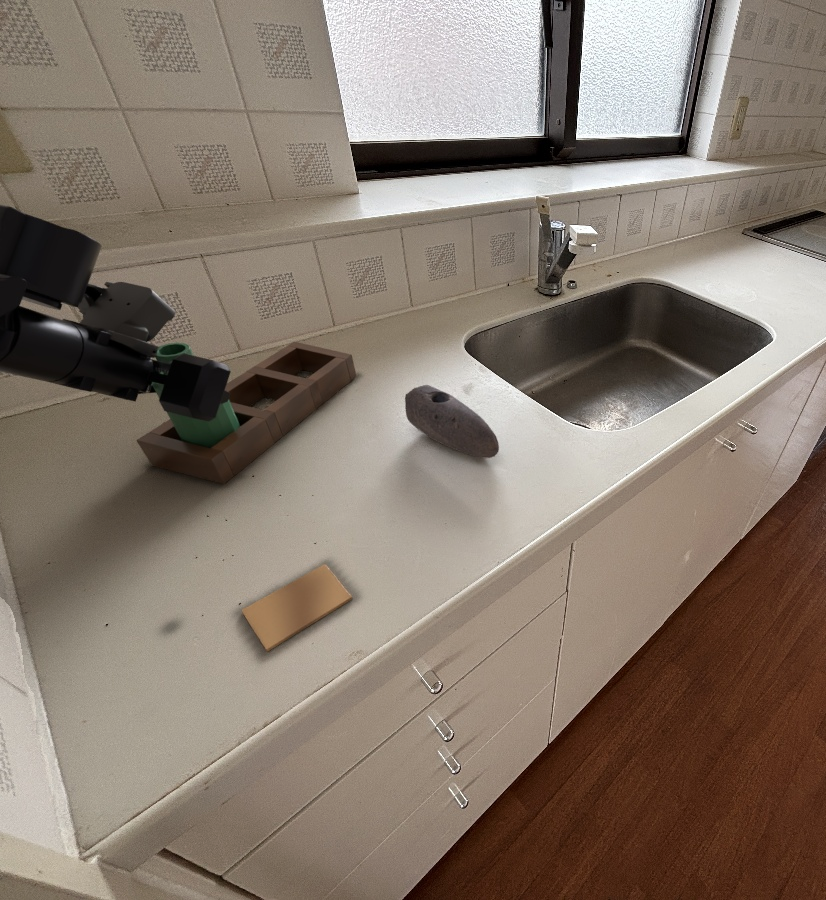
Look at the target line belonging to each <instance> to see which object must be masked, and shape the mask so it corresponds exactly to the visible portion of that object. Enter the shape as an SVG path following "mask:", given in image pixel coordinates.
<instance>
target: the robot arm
mask: <svg viewBox="0 0 826 900" xmlns="http://www.w3.org/2000/svg"><path fill="white" fill-rule="evenodd" d="M101 250H102V244H101V243H100V242H98V241H97V240H95V239H94V238H92V237H90V236H89V235H86V234H84V233H82V232H80V231H78V230H75V229H72V228H68V227H64V226H61V225H58V224H55V223H53V222H50V221H48V220H45V219H42V218H39V217H37V216H33V215H31V214H27V213H24V212H23V211H21V210H19V209H17V208H15V207H12V206H9V205H4V204H0V372H1V373H5V374H10V375H14V376H19V377H23V378H28V379H31V380H37V381H43V382H45V383H51V384H54V385H58V386H62V387H66V388H70V389H74V390H78V391H83V392H88V393H89V392H90V393H92V392H93V393H97V394H100V395H104V396H109V397H114V398H118V399H122V400H126V401H129V402H135V403H136V402H137V399H138V396H139V395H145V394H157V393H156V391H155V390H154V388H153V386H152V382H155V383H159V384H163V385H164V387H163V390H162V393H161V396H160V399H159V398H158V402H159V404H160V406H161V407H162V409H163V411H164V412H166V413H167V412H170V413H174V414H178V415H182V416H186V417H190V418H194V419H199V420H204V421H211V420H213V419H214V418H216V415H217V412H218V409H219V406H220V404H222V403H225V402H228V400H229V397H230V393H229V392H227V391H226V390H225V388H226V385H227V383H229V379H230V375H231V373H232V371H231V369H230V367H229V365H227V364H225V363H222V362H219V361H217V360H214V359H211V358H210V359H209V358H205V357H201V356H197V355H194V356H193V355H189V354H182V355H180V356H178V357H176V358H174V359H173V360H172V362H171V363H165V362H161V361H157V360H156V358H155V357H156V354H157V351H158V348H159V346H160V345H156V344H153V343H150V342H151V341H152V340H153V339H154V338H155V337H156V336H157V335H158V334H159V333H160V332H161V330H162V329H163V328H164V327H165V326H166V324H167V323H168V322H170V321H172V320H173V319H174V318H175V316H176V310H175V309H173V308H172V307H171V305H170V304H168V303H167V302H166V301H165V300H164V299H163V298H161V296H160V295H158V294H157V293H156V292H155V291H154V290H153V289H152V288H150V287H148V286H145V285H139V284H134V283H129V282H125V281H116V282H110V281H106V282H105V283H104V284H103V285H104V286H105V287H102V286H98V285H95V284H91V283H89V282H90V280H91V276H92V274H93V272H94V269H95V267H96V263H97V261H98V258H99V255H100V252H101ZM22 301H25V302H28V303H32V304H35V305H37V306H42V307H45V308H49V309H53V310H58V311H61V310H62V308H63V304H64V305H67V306H71V307H73V308H74V307H75V308H77V309H78V312H79V313H80V314H82V319H81V321H80V322H78V321H74V320H70V319H66V318H63V319H61V318H58V317H55V316H51V315H49V314H45V313H43V312H40V311H37V310H33V309H30V308H29V307H24V306H22V305H21V303H22ZM160 372H165V373H168V375H164V374H160Z"/></svg>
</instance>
